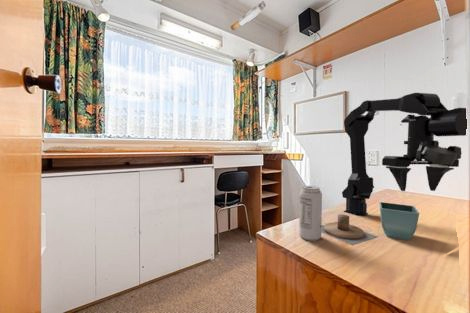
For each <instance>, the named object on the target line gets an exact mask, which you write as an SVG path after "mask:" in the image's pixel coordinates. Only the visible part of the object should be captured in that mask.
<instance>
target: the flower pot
mask: <svg viewBox="0 0 470 313" xmlns="http://www.w3.org/2000/svg"><path fill="white" fill-rule="evenodd" d="M378 202H379V213H380V223H381V227H382V230H383V232H384V234H385V236H386V237H388V238H394V239H399V240H405V241H410V240H411V239H412V238H413V236H414V235H415V233H416V231H417V227H418V223H419V216H420V212H419V210H418V209H417V208H416V206H415V205H409V204H408V205H407V204H402V203H401V204H400V203H393V202H392V203H391V202H384V201H378Z"/></svg>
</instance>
